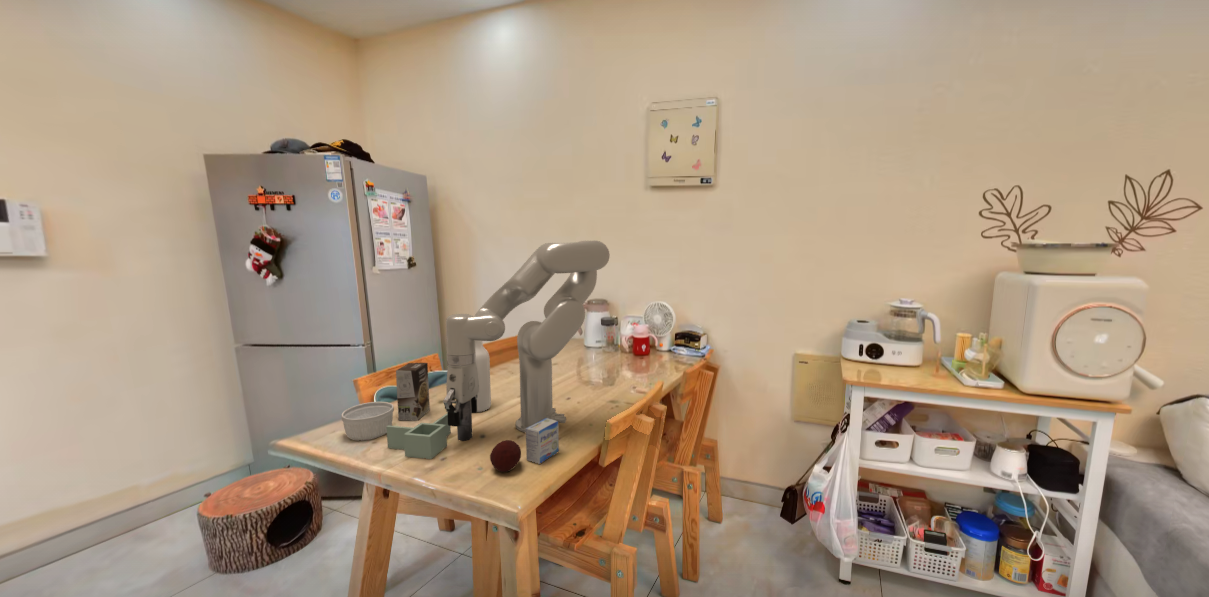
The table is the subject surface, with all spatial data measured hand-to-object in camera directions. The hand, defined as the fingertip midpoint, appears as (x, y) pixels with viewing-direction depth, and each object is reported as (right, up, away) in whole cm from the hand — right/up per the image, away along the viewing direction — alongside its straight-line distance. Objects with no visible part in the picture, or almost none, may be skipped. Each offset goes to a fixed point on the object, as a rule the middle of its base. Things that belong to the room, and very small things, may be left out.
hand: (463, 418), depth 120 cm
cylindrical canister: (0, -6, +1) cm, 6 cm away
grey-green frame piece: (-10, -6, -3) cm, 12 cm away
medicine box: (+24, -7, -10) cm, 27 cm away
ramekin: (-29, -6, +4) cm, 29 cm away
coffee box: (-21, -4, +17) cm, 27 cm away
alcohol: (-3, -3, +23) cm, 23 cm away
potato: (+16, -8, -15) cm, 23 cm away
